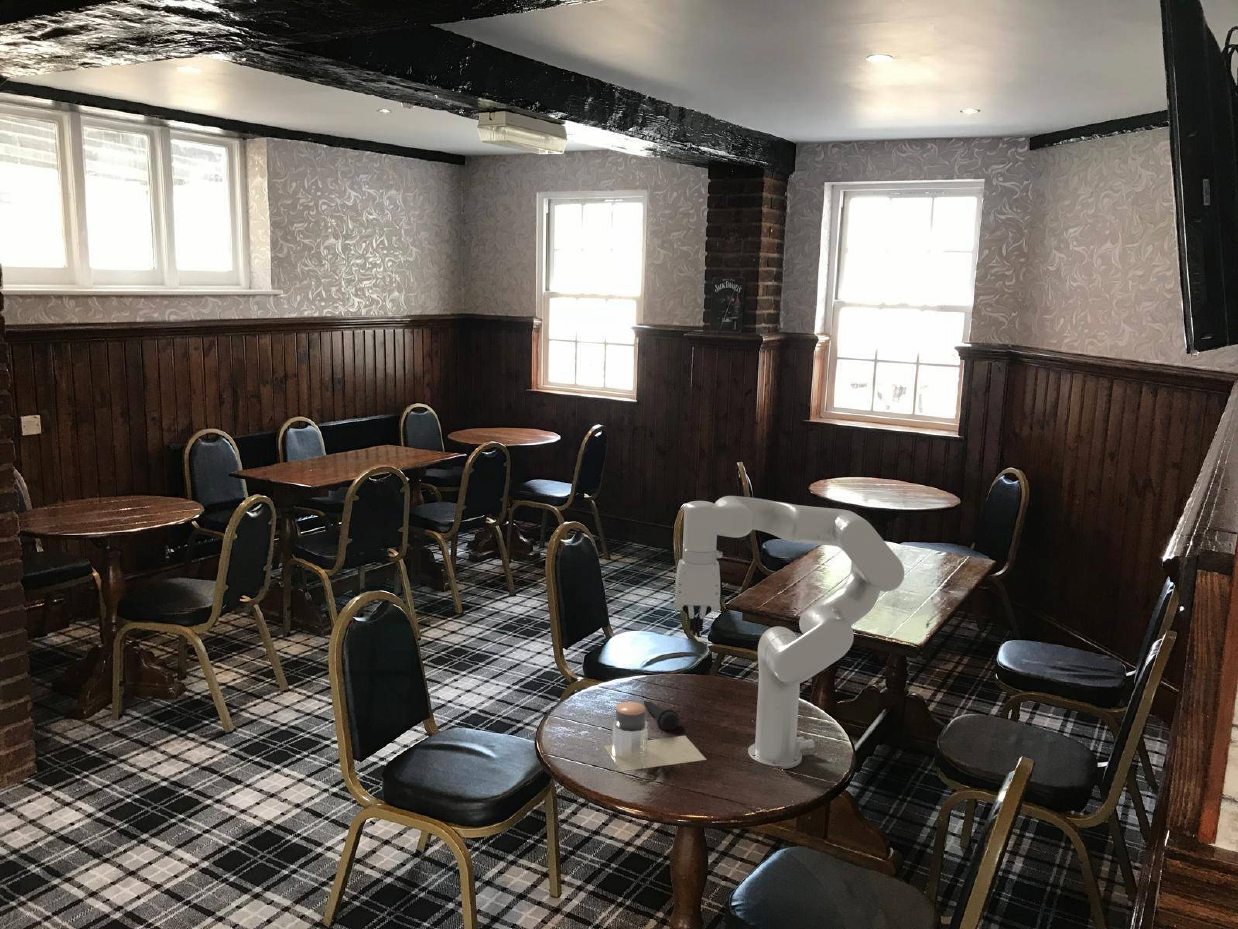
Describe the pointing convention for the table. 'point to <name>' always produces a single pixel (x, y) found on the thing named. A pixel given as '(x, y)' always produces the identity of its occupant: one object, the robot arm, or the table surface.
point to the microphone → (663, 716)
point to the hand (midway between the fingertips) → (695, 633)
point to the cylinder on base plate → (649, 749)
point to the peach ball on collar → (630, 715)
